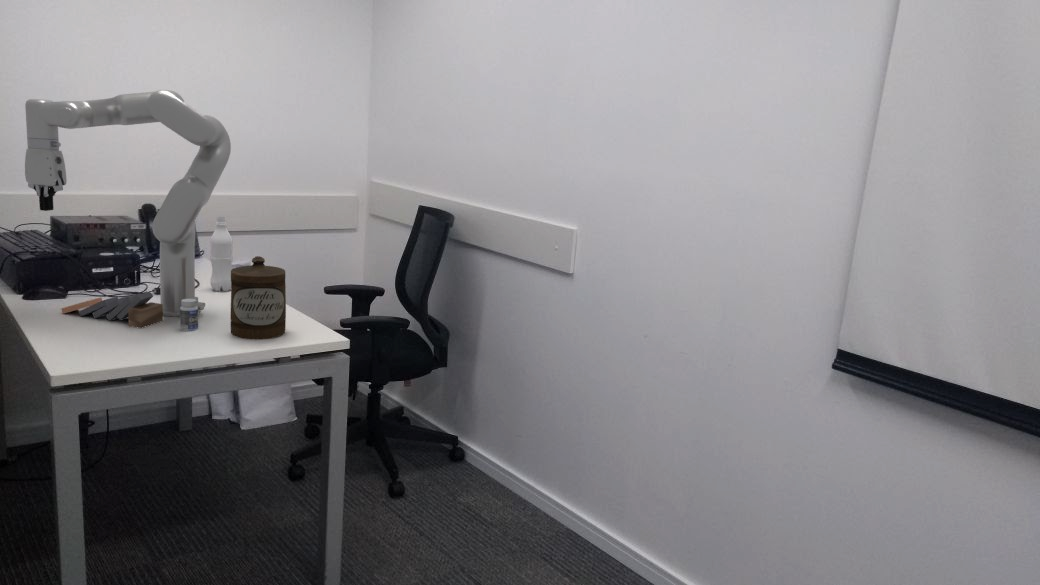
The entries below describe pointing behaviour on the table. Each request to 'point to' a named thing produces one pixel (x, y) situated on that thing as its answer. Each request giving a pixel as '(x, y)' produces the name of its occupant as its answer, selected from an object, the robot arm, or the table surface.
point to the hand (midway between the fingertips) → (46, 210)
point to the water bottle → (221, 256)
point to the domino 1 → (80, 305)
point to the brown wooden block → (145, 314)
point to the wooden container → (258, 301)
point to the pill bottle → (189, 315)
